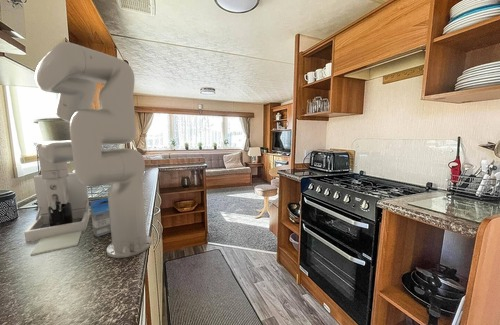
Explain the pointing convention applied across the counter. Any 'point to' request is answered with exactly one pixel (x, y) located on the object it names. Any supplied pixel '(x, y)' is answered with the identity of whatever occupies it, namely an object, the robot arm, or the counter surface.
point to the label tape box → (100, 217)
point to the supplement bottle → (66, 214)
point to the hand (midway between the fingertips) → (60, 217)
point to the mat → (57, 243)
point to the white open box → (35, 231)
